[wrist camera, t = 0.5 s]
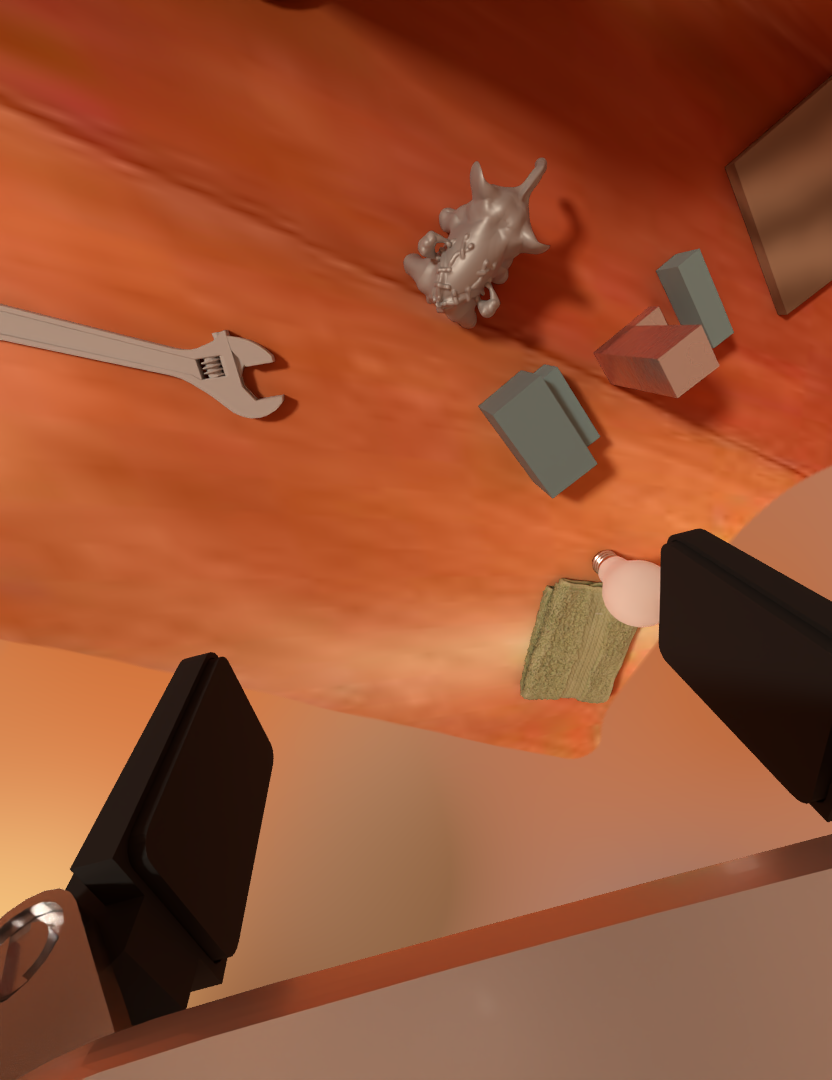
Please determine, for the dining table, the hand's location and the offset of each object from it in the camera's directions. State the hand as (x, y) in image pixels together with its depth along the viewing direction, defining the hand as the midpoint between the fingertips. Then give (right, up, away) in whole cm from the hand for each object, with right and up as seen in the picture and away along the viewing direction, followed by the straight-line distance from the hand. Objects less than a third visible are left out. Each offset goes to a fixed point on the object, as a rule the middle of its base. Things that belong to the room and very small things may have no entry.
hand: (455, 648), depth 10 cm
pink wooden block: (+19, +20, +33) cm, 43 cm away
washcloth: (+19, -10, +47) cm, 52 cm away
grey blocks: (+16, +18, +33) cm, 41 cm away
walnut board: (+33, +31, +29) cm, 54 cm away
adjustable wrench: (-24, +19, +28) cm, 42 cm away
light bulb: (+20, 0, +42) cm, 47 cm away
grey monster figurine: (+4, +27, +28) cm, 39 cm away
